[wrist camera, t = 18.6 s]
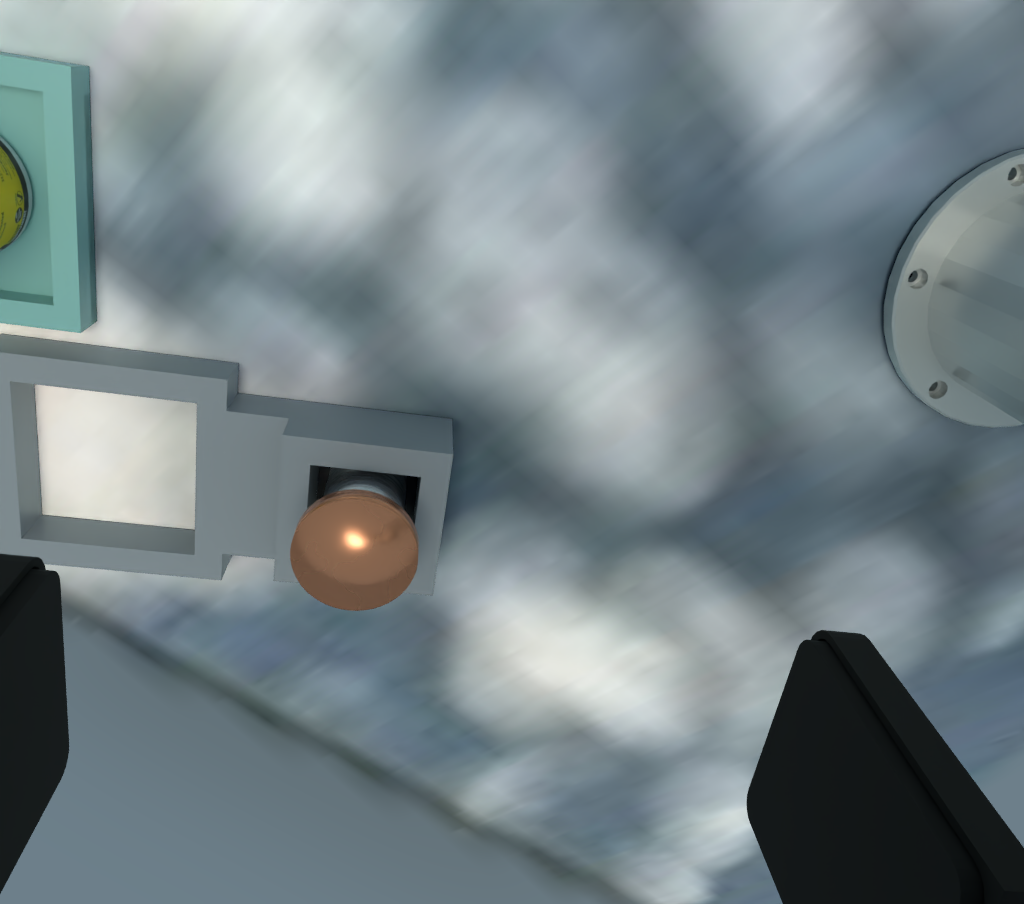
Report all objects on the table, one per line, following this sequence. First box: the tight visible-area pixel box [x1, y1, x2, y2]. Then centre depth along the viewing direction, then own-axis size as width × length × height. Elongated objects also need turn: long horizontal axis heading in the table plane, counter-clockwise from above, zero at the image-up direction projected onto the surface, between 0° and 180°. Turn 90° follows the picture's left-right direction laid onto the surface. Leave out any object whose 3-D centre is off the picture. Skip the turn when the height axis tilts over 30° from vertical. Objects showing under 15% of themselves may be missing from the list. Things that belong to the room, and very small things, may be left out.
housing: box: [0, 334, 453, 596], centre depth 38 cm, size 19×10×4 cm, turn 81°
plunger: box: [290, 467, 419, 611], centre depth 38 cm, size 5×5×7 cm
